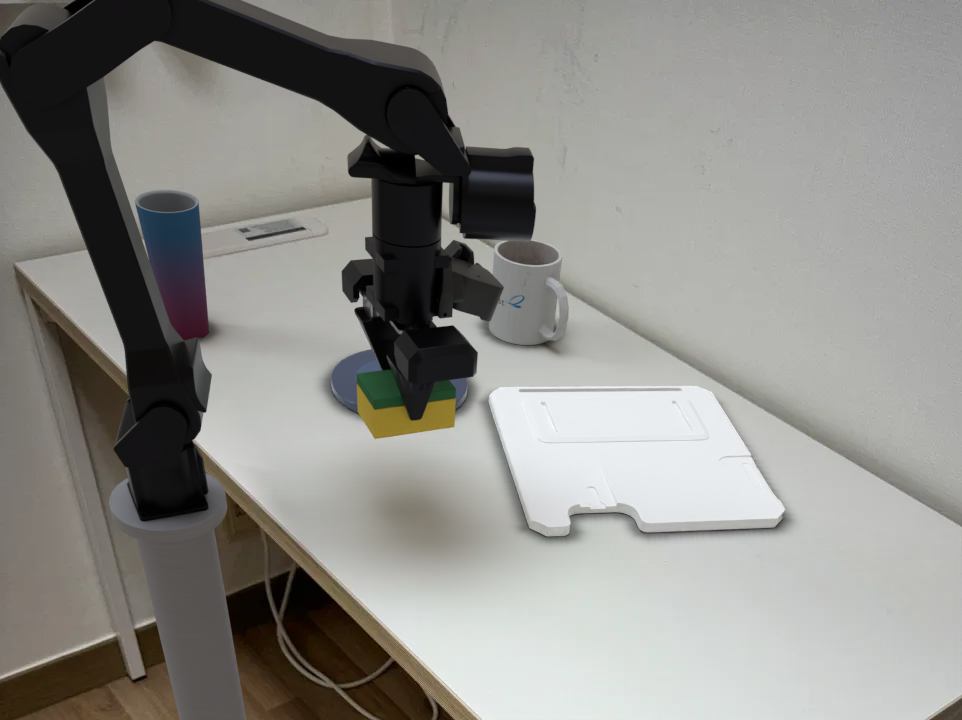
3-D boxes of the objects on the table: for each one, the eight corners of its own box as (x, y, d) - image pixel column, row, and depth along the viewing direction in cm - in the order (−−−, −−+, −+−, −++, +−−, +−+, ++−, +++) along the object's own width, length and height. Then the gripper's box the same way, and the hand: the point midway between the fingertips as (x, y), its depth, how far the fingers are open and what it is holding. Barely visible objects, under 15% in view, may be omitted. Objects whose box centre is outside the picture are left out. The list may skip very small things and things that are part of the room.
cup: (190, 313, 124) (170, 185, 113) (228, 331, 121) (211, 203, 110) (146, 329, 119) (121, 198, 109) (184, 349, 117) (162, 217, 106)
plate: (358, 431, 109) (358, 423, 108) (313, 364, 118) (312, 355, 117) (488, 410, 115) (489, 402, 114) (436, 347, 124) (436, 340, 123)
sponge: (374, 439, 91) (373, 399, 88) (357, 412, 94) (356, 373, 91) (454, 427, 94) (456, 388, 91) (435, 401, 97) (436, 363, 94)
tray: (787, 526, 104) (791, 515, 103) (532, 537, 98) (533, 524, 97) (705, 394, 123) (708, 383, 122) (486, 396, 117) (487, 384, 116)
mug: (477, 319, 130) (482, 242, 123) (533, 311, 134) (541, 235, 127) (521, 362, 124) (528, 282, 116) (579, 352, 127) (589, 274, 120)
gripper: (542, 272, 79) (523, 444, 90) (454, 187, 90) (448, 350, 101) (411, 284, 75) (409, 462, 86) (336, 194, 86) (343, 362, 97)
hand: (405, 405), depth 92 cm, fingers closed on sponge, 5 cm apart
